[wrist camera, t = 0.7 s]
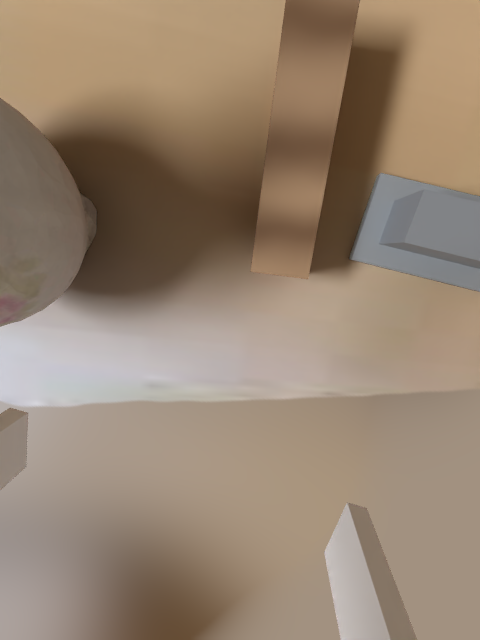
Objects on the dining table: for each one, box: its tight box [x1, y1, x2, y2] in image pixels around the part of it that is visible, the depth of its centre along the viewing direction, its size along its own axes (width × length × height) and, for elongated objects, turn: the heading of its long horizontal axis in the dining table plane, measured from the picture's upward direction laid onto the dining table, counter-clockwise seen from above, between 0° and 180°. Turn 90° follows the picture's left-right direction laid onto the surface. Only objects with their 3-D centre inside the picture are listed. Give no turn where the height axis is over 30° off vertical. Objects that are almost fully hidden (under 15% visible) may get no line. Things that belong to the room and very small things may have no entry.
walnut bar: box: [251, 0, 360, 279], centre depth 24 cm, size 20×5×6 cm, turn 173°
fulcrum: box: [349, 173, 480, 292], centre depth 24 cm, size 8×14×6 cm, turn 76°
